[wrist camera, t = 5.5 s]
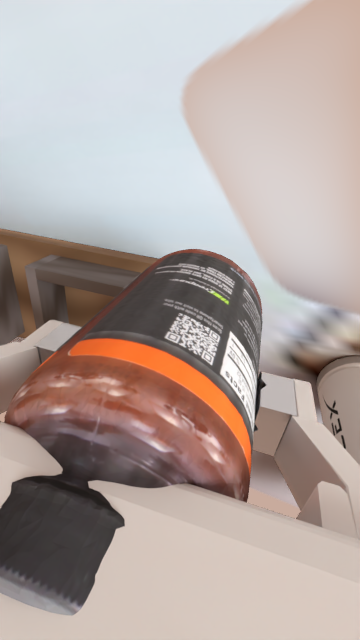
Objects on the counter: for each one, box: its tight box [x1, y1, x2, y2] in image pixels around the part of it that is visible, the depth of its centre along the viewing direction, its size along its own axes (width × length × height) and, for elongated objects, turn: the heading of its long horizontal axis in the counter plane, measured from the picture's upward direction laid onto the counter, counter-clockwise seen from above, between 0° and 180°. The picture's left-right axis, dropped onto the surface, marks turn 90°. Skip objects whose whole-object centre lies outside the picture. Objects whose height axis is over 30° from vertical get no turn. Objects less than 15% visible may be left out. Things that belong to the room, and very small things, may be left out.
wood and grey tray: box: [0, 229, 159, 346], centre depth 29 cm, size 12×26×5 cm, turn 85°
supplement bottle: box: [0, 249, 262, 616], centre depth 9 cm, size 6×6×11 cm
